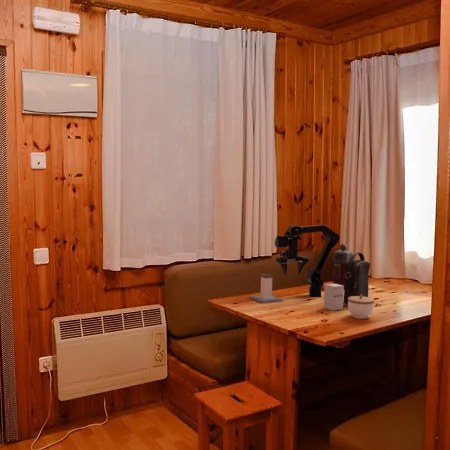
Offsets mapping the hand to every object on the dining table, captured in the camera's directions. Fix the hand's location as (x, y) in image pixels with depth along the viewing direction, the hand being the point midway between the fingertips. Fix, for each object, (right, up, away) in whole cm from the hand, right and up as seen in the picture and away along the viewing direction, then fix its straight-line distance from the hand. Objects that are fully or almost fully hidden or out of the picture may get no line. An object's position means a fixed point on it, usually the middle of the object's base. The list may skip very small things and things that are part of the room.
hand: (292, 274), depth 301 cm
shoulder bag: (+35, -15, -9) cm, 39 cm away
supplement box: (+18, -16, -25) cm, 35 cm away
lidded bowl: (+28, -17, -42) cm, 53 cm away
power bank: (-16, -12, -8) cm, 21 cm away
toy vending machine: (+35, -12, +30) cm, 47 cm away
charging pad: (-16, -13, -8) cm, 22 cm away
